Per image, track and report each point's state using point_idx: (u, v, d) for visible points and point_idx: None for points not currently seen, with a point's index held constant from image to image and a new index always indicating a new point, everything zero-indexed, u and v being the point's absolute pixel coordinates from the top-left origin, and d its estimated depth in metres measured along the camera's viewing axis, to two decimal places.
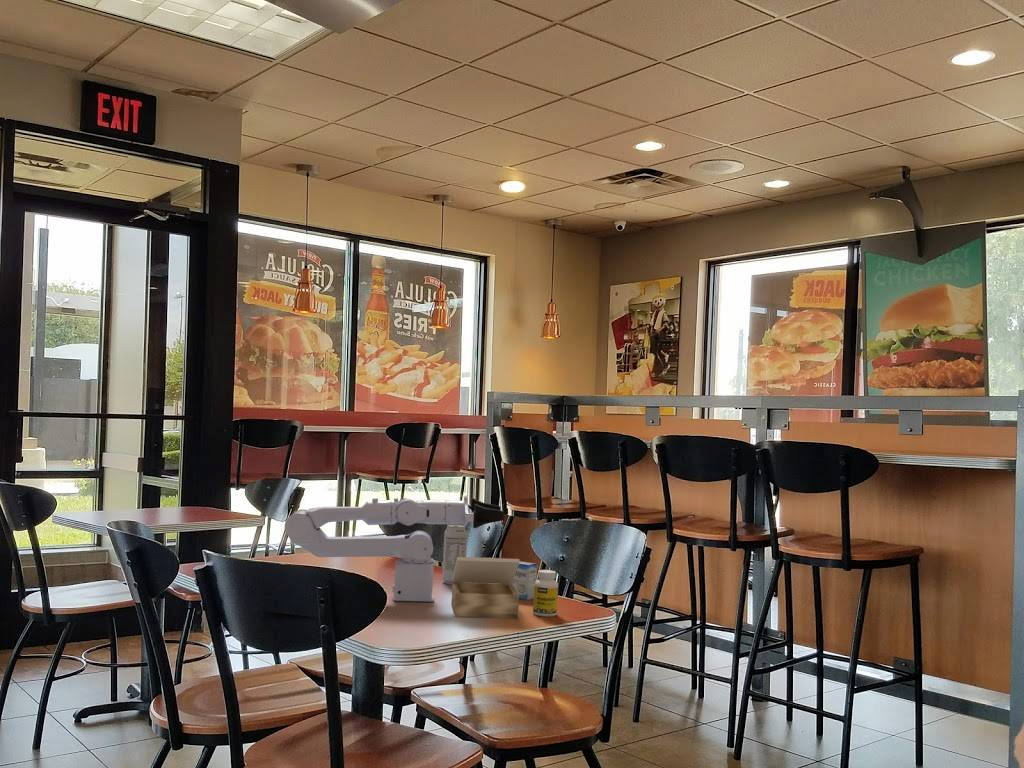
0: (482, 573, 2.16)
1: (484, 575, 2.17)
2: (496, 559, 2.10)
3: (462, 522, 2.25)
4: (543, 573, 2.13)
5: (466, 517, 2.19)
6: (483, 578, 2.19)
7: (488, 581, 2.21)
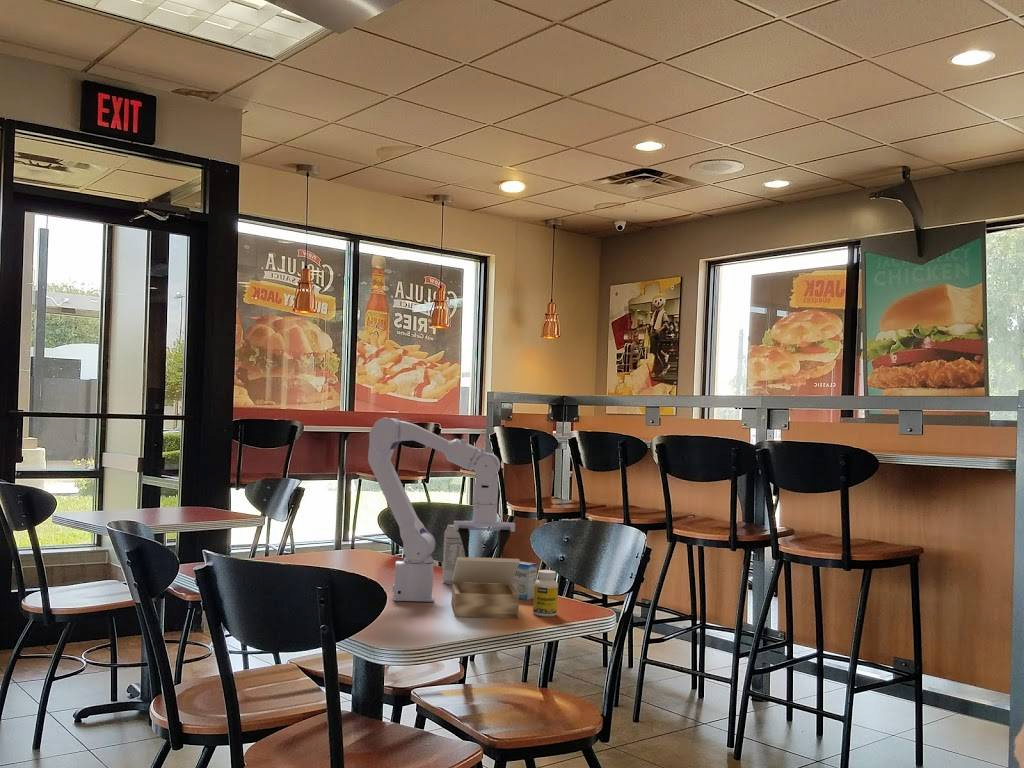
0: (482, 573, 2.16)
1: (484, 575, 2.17)
2: (496, 559, 2.10)
3: None
4: (543, 573, 2.13)
5: (454, 522, 2.23)
6: (483, 578, 2.19)
7: (488, 581, 2.21)
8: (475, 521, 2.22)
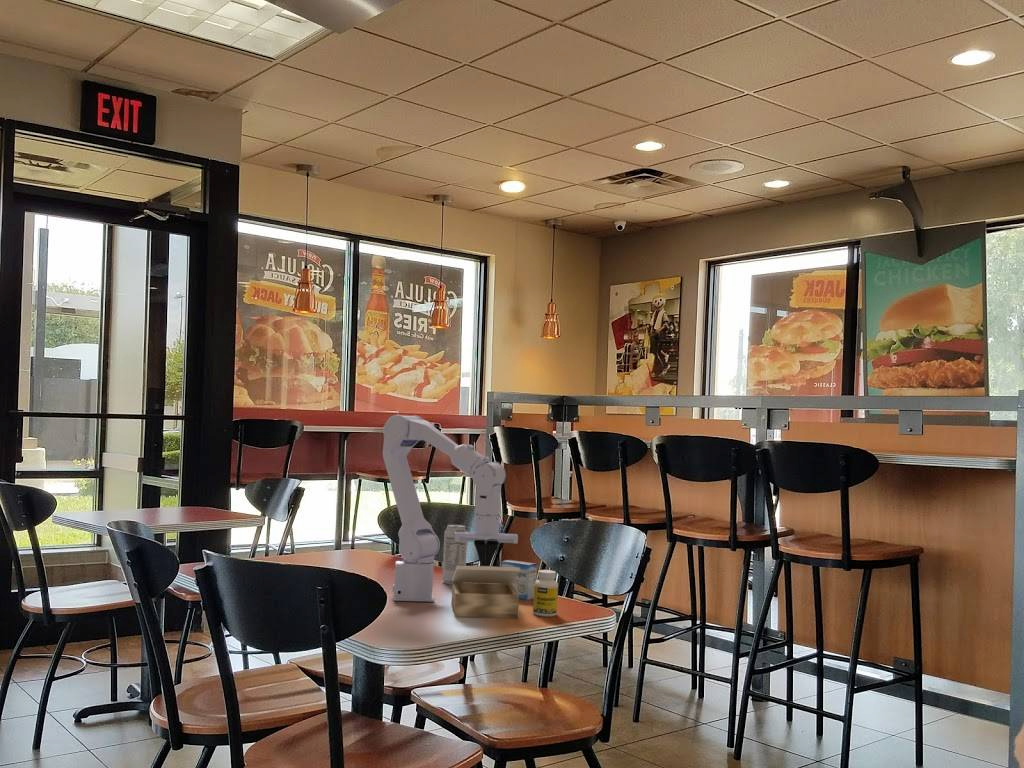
0: (482, 577, 2.16)
1: (484, 578, 2.17)
2: (496, 568, 2.09)
3: None
4: (543, 573, 2.13)
5: (455, 533, 2.17)
6: (483, 580, 2.19)
7: (488, 582, 2.21)
8: (477, 533, 2.16)
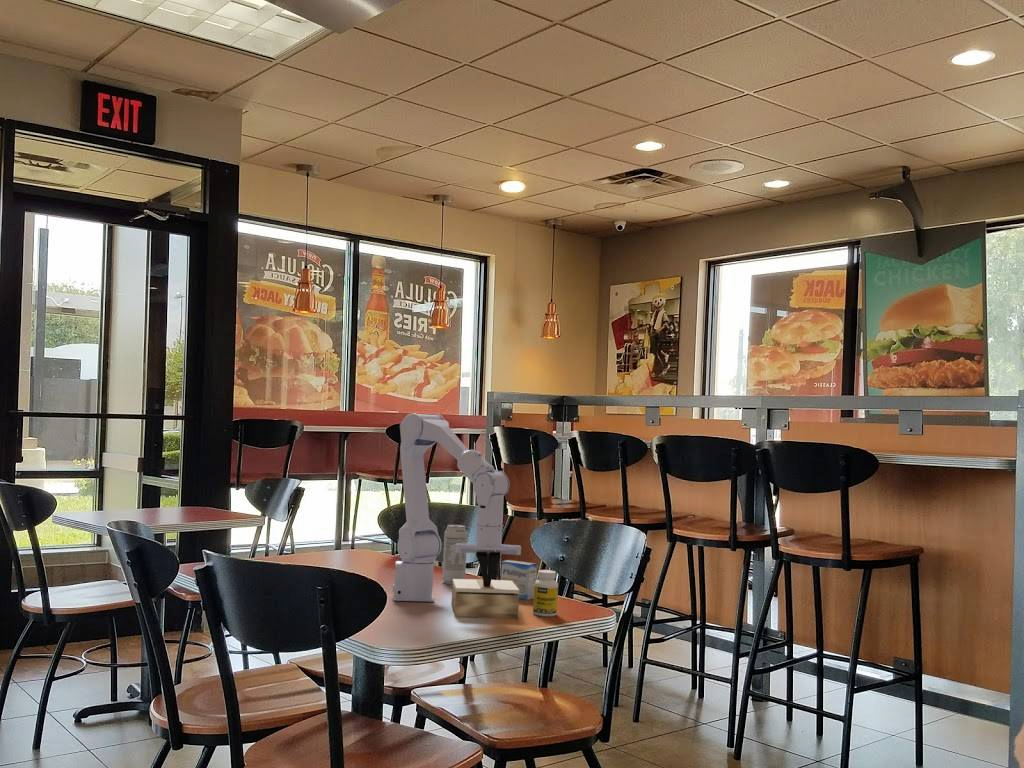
0: None
1: None
2: (495, 590, 2.08)
3: None
4: (543, 573, 2.13)
5: (456, 544, 2.11)
6: None
7: None
8: (479, 544, 2.10)
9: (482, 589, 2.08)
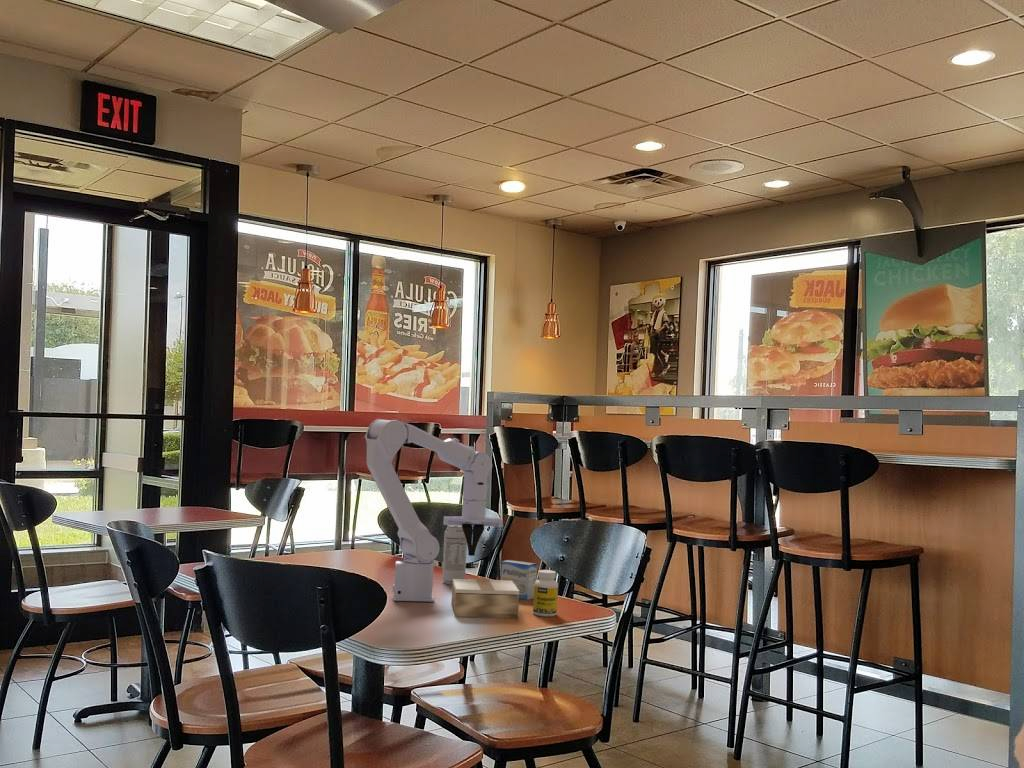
0: None
1: None
2: (495, 591, 2.08)
3: None
4: (543, 573, 2.13)
5: (444, 517, 2.32)
6: None
7: None
8: (464, 517, 2.31)
9: (482, 590, 2.08)
